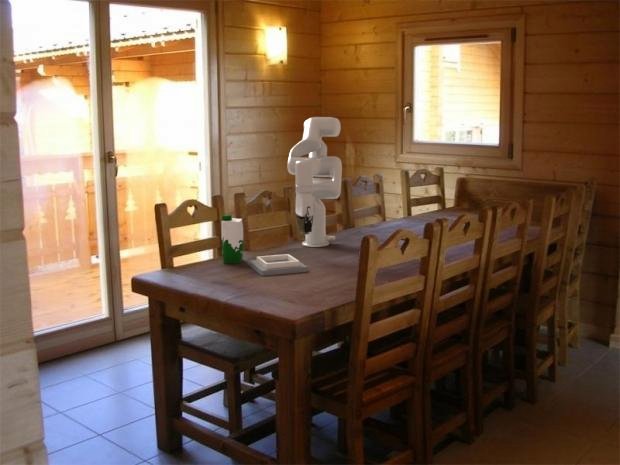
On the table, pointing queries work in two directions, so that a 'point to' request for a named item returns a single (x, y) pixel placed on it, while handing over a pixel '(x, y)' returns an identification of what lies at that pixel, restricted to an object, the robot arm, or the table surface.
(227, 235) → the milk carton
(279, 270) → the stand
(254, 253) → the table surface
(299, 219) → the cup
